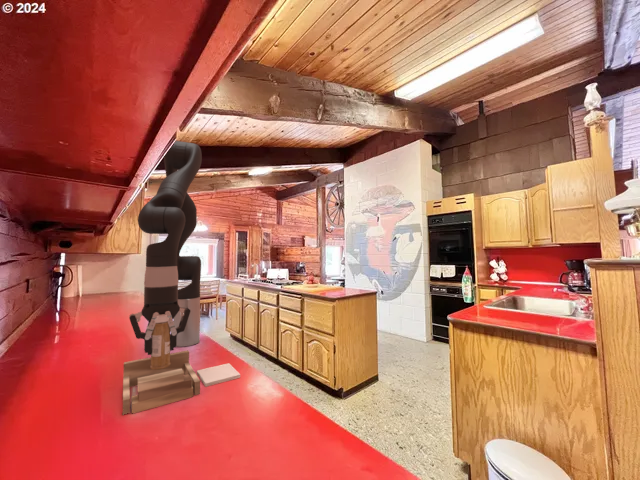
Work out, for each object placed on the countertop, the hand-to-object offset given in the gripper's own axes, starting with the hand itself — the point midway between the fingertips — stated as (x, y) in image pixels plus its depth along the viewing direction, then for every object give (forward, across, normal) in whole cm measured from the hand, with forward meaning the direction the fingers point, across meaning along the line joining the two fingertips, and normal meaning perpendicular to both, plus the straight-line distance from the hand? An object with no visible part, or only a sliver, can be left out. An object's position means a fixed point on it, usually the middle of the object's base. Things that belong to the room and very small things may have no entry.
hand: (160, 351), depth 70 cm
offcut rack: (+9, 0, +2) cm, 9 cm away
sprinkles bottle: (+4, 0, 0) cm, 4 cm away
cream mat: (+9, -14, +1) cm, 17 cm away
